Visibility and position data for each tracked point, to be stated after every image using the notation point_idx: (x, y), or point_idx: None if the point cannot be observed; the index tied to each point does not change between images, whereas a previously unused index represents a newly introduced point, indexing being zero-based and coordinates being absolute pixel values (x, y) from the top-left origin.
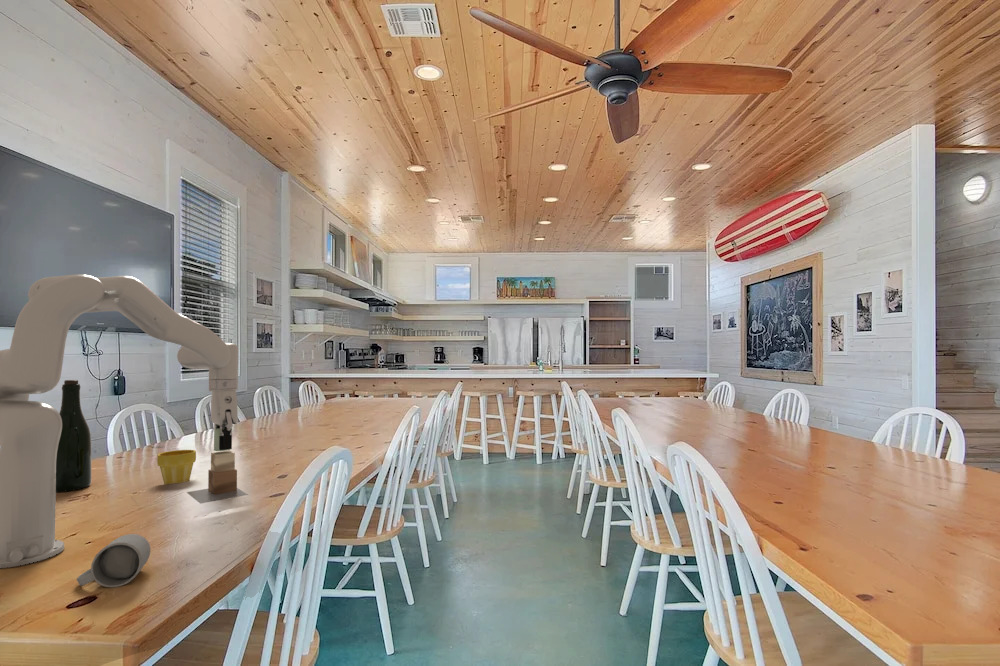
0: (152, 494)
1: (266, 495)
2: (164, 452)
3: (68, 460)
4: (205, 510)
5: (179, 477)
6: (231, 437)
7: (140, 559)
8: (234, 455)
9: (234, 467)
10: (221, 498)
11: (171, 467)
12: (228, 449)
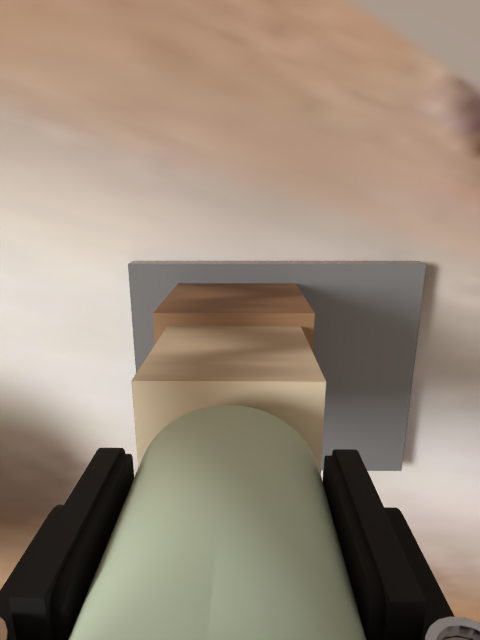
0: (24, 549)
1: (446, 163)
2: None
3: None
4: (464, 456)
5: None
6: (409, 564)
7: None
8: (320, 371)
9: (303, 333)
10: (396, 384)
11: None
12: (314, 460)
